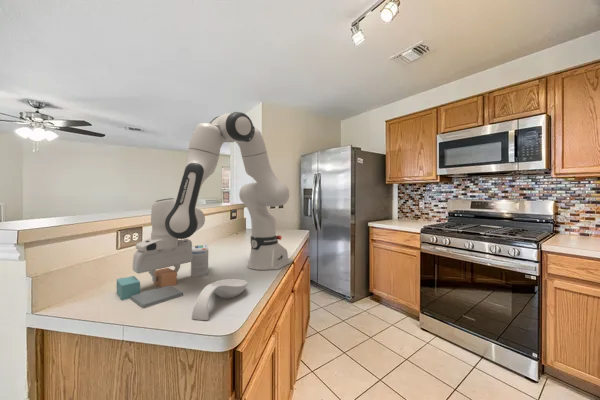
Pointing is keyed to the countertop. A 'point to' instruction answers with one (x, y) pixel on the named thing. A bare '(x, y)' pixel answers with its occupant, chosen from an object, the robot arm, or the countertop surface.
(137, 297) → the grey baseplate
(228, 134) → the robot arm
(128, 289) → the teal brick
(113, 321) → the countertop surface
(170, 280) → the terracotta brick
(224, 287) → the spoon rest
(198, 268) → the light bulb box
